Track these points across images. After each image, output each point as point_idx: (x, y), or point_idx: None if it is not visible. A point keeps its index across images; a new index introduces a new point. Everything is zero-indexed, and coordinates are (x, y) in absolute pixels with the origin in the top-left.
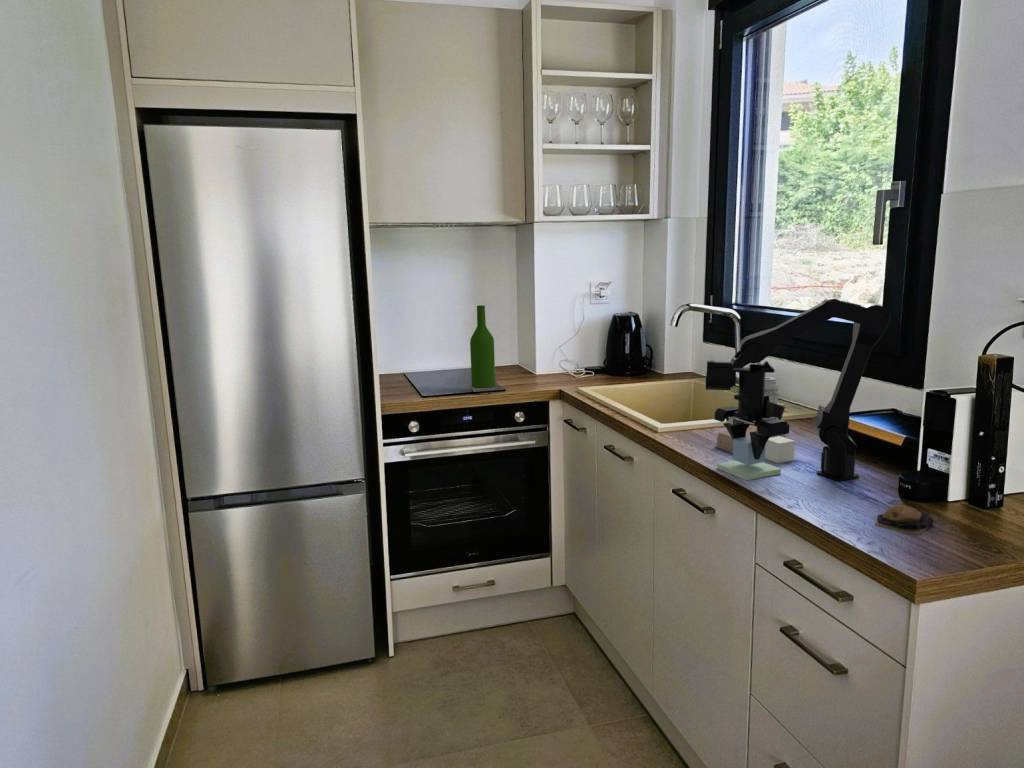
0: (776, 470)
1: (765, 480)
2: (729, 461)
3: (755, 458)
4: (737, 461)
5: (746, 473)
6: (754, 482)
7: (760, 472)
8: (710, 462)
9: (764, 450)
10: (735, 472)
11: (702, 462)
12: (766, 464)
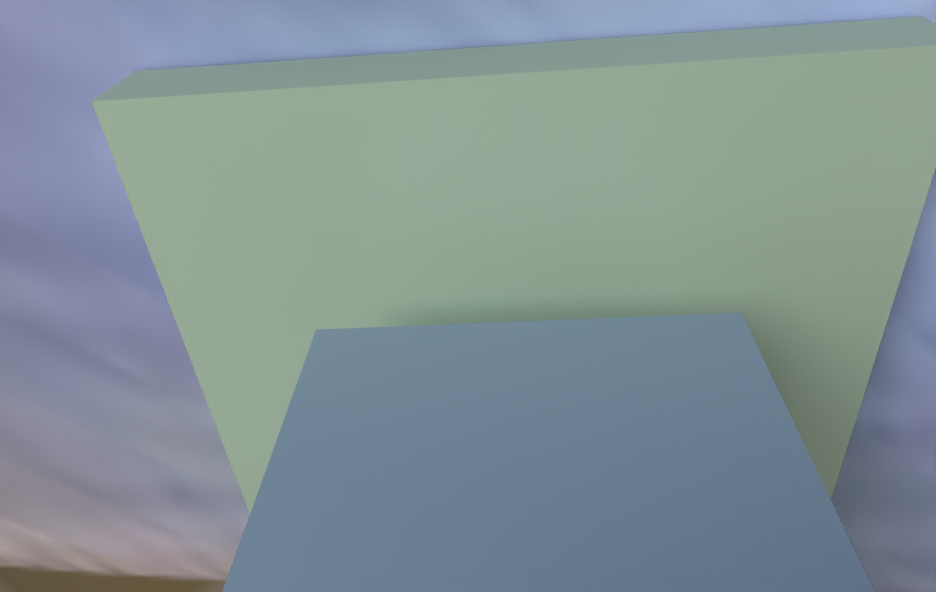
0: (928, 146)
1: (932, 391)
2: (238, 473)
3: None
4: (263, 396)
5: None
6: (882, 510)
7: (846, 436)
8: (55, 491)
9: (833, 531)
10: None
11: (47, 544)
12: (595, 110)
